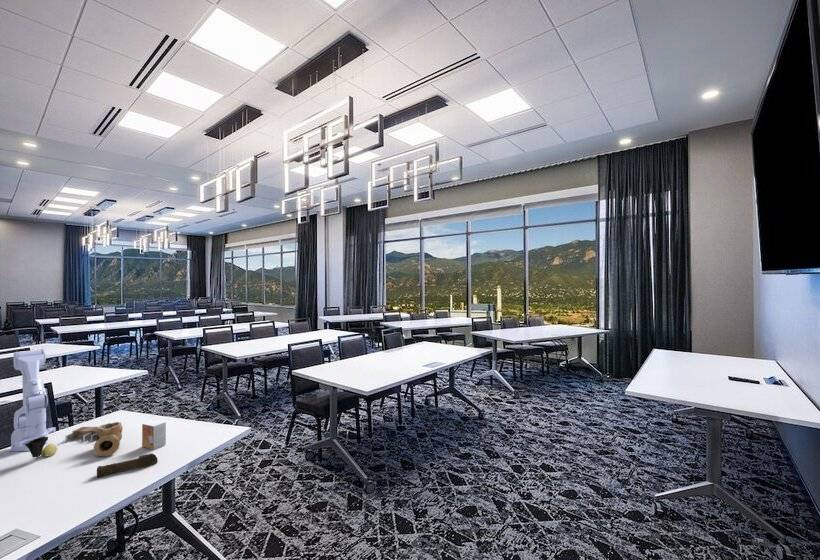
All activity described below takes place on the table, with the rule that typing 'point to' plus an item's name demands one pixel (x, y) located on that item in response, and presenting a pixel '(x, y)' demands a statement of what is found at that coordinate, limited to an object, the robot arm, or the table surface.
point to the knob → (49, 450)
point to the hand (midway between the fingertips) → (36, 456)
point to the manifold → (83, 434)
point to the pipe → (108, 439)
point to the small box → (153, 434)
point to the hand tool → (127, 465)
